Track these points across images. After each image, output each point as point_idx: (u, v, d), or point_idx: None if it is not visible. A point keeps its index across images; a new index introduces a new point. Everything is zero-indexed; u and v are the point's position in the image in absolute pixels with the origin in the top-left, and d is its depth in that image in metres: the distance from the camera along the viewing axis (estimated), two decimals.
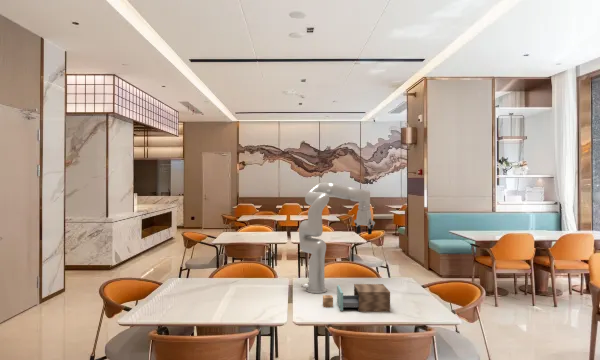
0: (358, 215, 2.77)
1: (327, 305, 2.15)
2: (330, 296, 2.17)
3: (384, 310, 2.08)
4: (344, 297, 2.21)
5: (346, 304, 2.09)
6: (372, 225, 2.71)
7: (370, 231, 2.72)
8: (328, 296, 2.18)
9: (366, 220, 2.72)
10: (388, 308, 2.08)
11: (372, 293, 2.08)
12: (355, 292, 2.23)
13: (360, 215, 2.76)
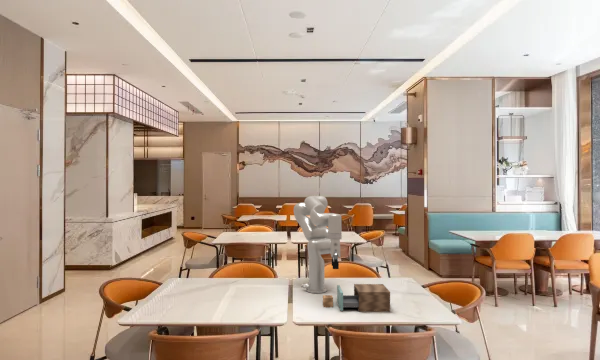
0: None
1: (327, 305, 2.15)
2: (330, 296, 2.17)
3: (384, 310, 2.08)
4: (344, 297, 2.21)
5: (346, 304, 2.09)
6: None
7: None
8: (328, 296, 2.18)
9: None
10: (388, 308, 2.08)
11: (372, 293, 2.08)
12: (355, 292, 2.23)
13: None
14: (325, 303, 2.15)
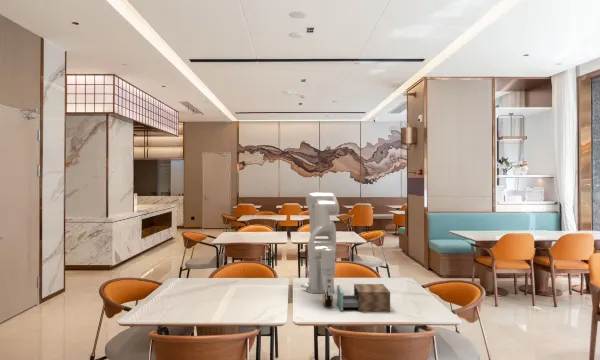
0: (333, 280, 2.14)
1: None
2: None
3: (384, 310, 2.08)
4: (344, 297, 2.21)
5: (346, 304, 2.09)
6: None
7: None
8: None
9: None
10: (388, 308, 2.08)
11: (372, 293, 2.08)
12: (355, 292, 2.23)
13: None
14: None
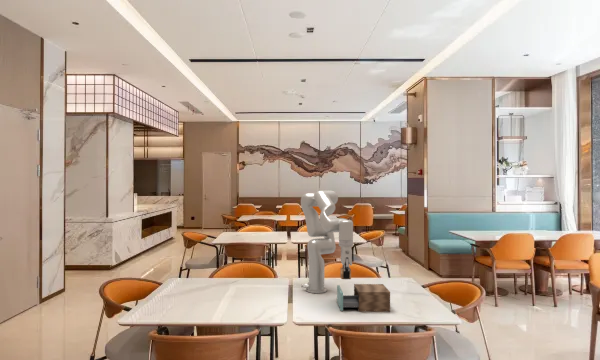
0: (351, 252, 2.13)
1: None
2: None
3: (384, 310, 2.08)
4: (344, 297, 2.21)
5: (346, 304, 2.09)
6: None
7: None
8: None
9: None
10: (388, 308, 2.08)
11: (372, 293, 2.08)
12: (355, 292, 2.23)
13: None
14: None
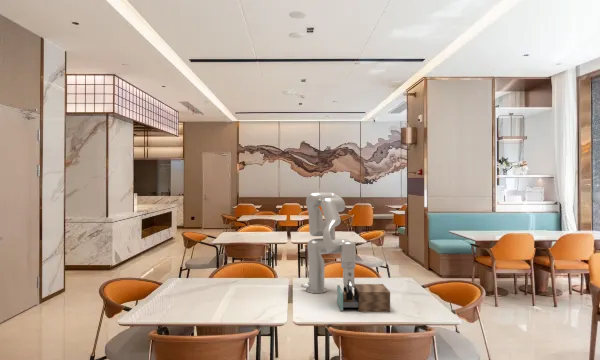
0: None
1: (347, 301, 2.13)
2: None
3: (384, 310, 2.08)
4: None
5: (346, 304, 2.09)
6: None
7: None
8: None
9: None
10: (388, 308, 2.08)
11: (372, 293, 2.08)
12: (355, 292, 2.23)
13: None
14: (345, 299, 2.13)
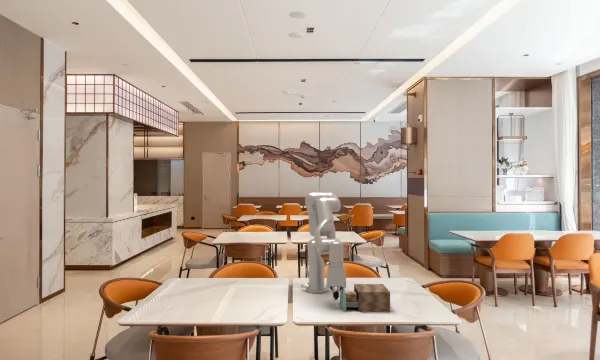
0: (331, 274, 2.12)
1: (350, 301, 2.13)
2: (353, 292, 2.16)
3: (384, 310, 2.08)
4: None
5: (349, 304, 2.09)
6: (342, 287, 2.14)
7: (338, 295, 2.15)
8: (351, 292, 2.16)
9: (344, 280, 2.13)
10: (388, 308, 2.08)
11: (372, 293, 2.08)
12: (355, 292, 2.23)
13: (334, 275, 2.12)
14: (348, 299, 2.13)
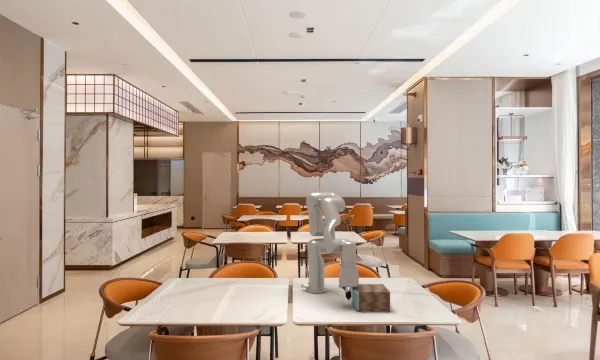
0: (344, 274, 2.13)
1: None
2: None
3: (384, 310, 2.08)
4: None
5: None
6: (354, 287, 2.15)
7: None
8: None
9: (356, 280, 2.13)
10: (388, 308, 2.08)
11: (372, 293, 2.08)
12: None
13: (346, 275, 2.12)
14: None
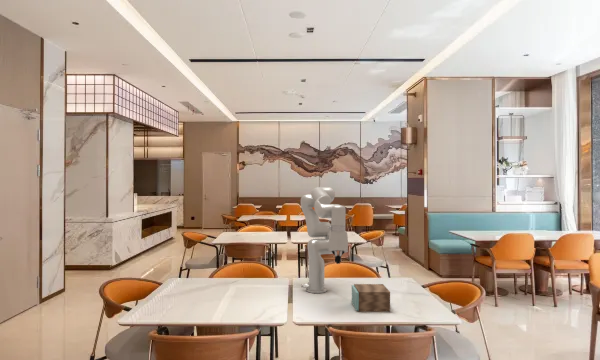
0: (333, 237, 2.12)
1: None
2: None
3: (384, 310, 2.08)
4: None
5: None
6: (344, 251, 2.15)
7: (340, 259, 2.15)
8: None
9: (346, 244, 2.13)
10: (388, 308, 2.08)
11: (372, 293, 2.08)
12: None
13: (336, 238, 2.12)
14: None
